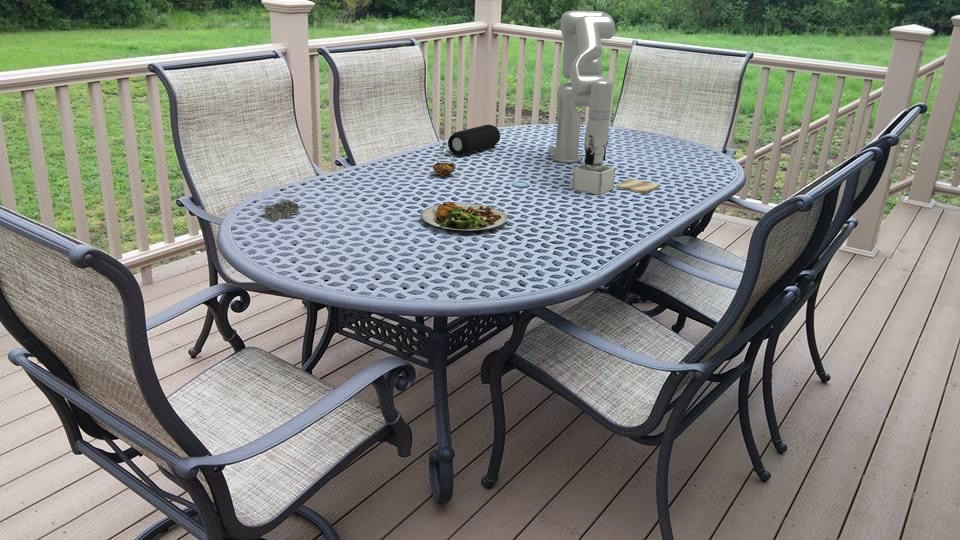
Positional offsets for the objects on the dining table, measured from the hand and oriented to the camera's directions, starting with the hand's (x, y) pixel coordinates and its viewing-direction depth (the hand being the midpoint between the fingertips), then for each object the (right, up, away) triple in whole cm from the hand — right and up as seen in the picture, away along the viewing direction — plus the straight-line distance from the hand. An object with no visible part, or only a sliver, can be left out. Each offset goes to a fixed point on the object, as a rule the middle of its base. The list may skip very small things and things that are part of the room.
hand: (594, 162), depth 291 cm
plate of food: (-47, -24, -33) cm, 63 cm away
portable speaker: (-44, +11, +50) cm, 68 cm away
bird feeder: (-56, -3, +15) cm, 58 cm away
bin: (0, -9, +4) cm, 10 cm away
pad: (+17, -8, +7) cm, 20 cm away
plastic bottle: (0, -10, +4) cm, 10 cm away
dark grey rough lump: (-106, -22, -33) cm, 113 cm away
